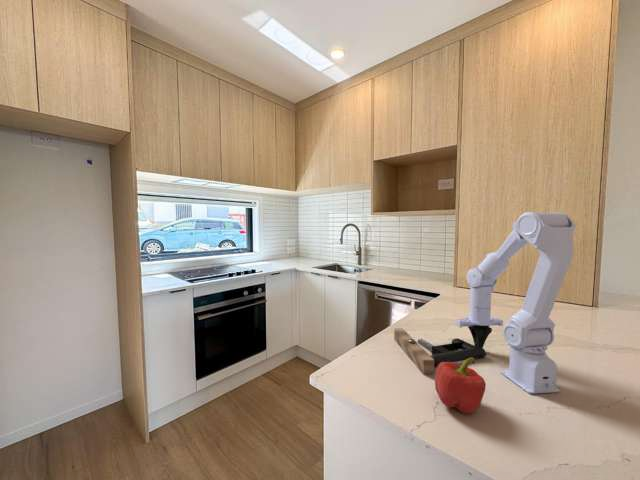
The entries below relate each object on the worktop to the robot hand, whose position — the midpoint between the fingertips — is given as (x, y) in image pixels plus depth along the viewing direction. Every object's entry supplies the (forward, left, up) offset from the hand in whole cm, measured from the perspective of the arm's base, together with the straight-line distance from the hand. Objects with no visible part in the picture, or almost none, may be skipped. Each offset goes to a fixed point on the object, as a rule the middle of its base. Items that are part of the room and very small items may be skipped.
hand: (478, 347), depth 85 cm
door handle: (0, +11, -2) cm, 11 cm away
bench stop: (0, +23, -1) cm, 23 cm away
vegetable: (-23, +22, -2) cm, 32 cm away
